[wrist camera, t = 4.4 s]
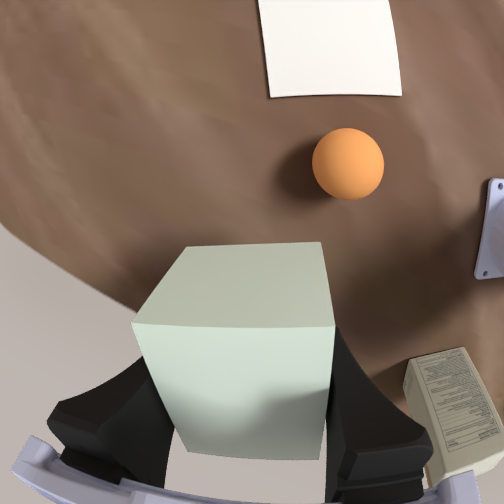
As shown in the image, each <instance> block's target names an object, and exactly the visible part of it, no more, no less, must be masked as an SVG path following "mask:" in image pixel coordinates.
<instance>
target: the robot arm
mask: <svg viewBox="0 0 504 504" xmlns="http://www.w3.org/2000/svg"><path fill="white" fill-rule="evenodd" d="M499 183H500V187H499V188H498V185H499ZM484 272H485V273H484ZM483 273H484V274H483ZM474 276H475V277H476V278H477V279H488V278H497V277H504V179H500V178H492V179H491V180H490V181H489V184H488V194H487V203H486V211H485V218H484V225H483V231H482V237H481V242H480V248H479V253H478V258H477V262H476V267H475V271H474ZM47 425H48V426H49V429H50V430H51V431H52V433H53V434H54V435H55V436H56V437H57V438H58V439H59V440H60V441H61V442H62V443H63V444H64V446H65V449H64V450H63V452H62V454H59V453H57V452H56V450H55V449H54V448H53V447H52V446H51V445H49V444H48V443H46V442H45V441H42V440H41V439H39V438H37V437H35V436H32V435H31V436H30V437H29V439H28V441H27V442H26V444H25V446H24V447H23V449H22V451H21V452H20V454H19V456H18V458H17V459H16V461H15V463H14V465H13V466H12V468H11V471H12V473H14V474H15V475H16V476H17V477H19V478H20V479H21V480H22V481H23V482H25V483H26V484H27V485H29V486H30V487H31V488H33V489H34V490H35V491H37V492H38V493H39V494H41V495H43V496H45V497H46V498H48V499H50V500H51V501H53V502H55V503H57V504H267V503H252V502H241V501H231V500H223V499H214V498H209V497H202V496H196V495H191V494H185V493H180V492H175V491H171V490H166V489H164V484H165V476H166V469H167V463H168V456H169V451H170V445H171V441H172V437H173V432H174V428H175V426H174V424H173V422H172V420H171V418H170V416H169V414H168V412H167V410H166V408H165V406H164V403H163V401H162V399H161V397H160V395H159V392H158V390H157V388H156V386H155V383H154V381H153V379H152V377H151V374H150V372H149V369H148V367H147V365H146V362H145V360H144V357H143V356H142V357H141V358H139V359H138V360H137V361H136V362H135V363H133V364H132V365H131V366H130V367H128V368H127V369H126V370H124V371H123V372H121V373H120V374H118V375H117V376H115V377H114V378H112V379H110V380H108V381H107V382H105V383H103V384H101V385H100V386H98V387H96V388H94V389H92V390H89V391H87V392H85V393H83V394H80V395H78V396H75V397H72V398H69V399H66V400H63V401H59V402H58V404H57V405H56V407H55V409H54V410H53V412H52V413H51V415H50V416H49V418H48V420H47ZM326 428H327V463H326V464H327V465H326V488H325V503H323V504H481V499H480V494H479V489H478V485H477V481H476V477H475V473H474V470H469V471H466V472H463V473H460V474H456V475H453V476H450V477H447V478H445V479H443V480H442V481H441V482H440V483H439V484H438V485H437V486H436V487H432V488H428V489H423V485H422V478H423V477H424V473H423V467H424V466H425V465H426V463H427V462H428V461H429V460H430V458H431V457H432V455H433V453H434V450H433V445H432V441H431V439H430V436H429V434H428V432H427V430H426V428H425V427H423V426H422V425H420V424H419V423H417V422H416V421H414V420H413V419H411V418H410V417H408V416H407V415H406V414H404V413H403V412H402V411H401V410H399V409H398V408H397V407H396V406H395V405H394V404H393V403H392V402H391V401H389V400H388V399H387V398H386V397H385V396H384V395H383V394H382V393H381V392H380V391H379V390H378V389H377V387H376V386H375V385H374V384H373V383H372V382H371V380H370V379H369V378H368V377H367V375H366V374H365V373H364V371H363V370H362V369H361V367H360V366H359V364H358V363H357V361H356V360H355V358H354V357H353V355H352V353H351V352H350V350H349V348H348V347H347V345H346V343H345V341H344V339H343V337H342V335H341V333H340V331H339V328H337V327H335V336H334V348H333V359H332V368H331V378H330V386H329V395H328V402H327V410H326ZM268 504H269V503H268Z"/></svg>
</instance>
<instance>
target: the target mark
mask: <svg viewBox="0 0 504 504" xmlns="http://www.w3.org/2000/svg"><path fill="white" fill-rule="evenodd" d="M258 2H259V9H260V16H261V23H262V31H263V38H264V46H265V54H266V62H267V70H268V79H269V87H270V96H271V97H283V96H299V95H323V94H369V95H393V96H402V92H401V81H400V71H399V62H398V54H397V47H396V40H395V34H394V28H393V22H392V17H391V11H390V6H389V2H388V0H258Z"/></svg>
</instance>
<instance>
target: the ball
mask: <svg viewBox="0 0 504 504" xmlns="http://www.w3.org/2000/svg"><path fill="white" fill-rule="evenodd" d="M312 167H313V172H314V175H315V178H316V180H317V182H318V183H319V185H320V186H321V187H322V188H323V189H324V190H325V191H326V192H327V193H329V194H330V195H332V196H334V197H336V198H339V199H343V200H356V199H360V198H363V197H365V196H367V195H369V194H370V193H371V192H372V191H374V190H375V188H376V187H377V186H378V184H379V183H380V181H381V178H382V175H383V171H384V160H383V156H382V153H381V151H380V149H379V147H378V145H377V144H376V142H375V141H374V140H373V139H372V138H371V137H370V136H368V135H367V134H365V133H364V132H361V131H359V130H356V129H351V128H343V129H337V130H334V131H332V132H330V133H328V134H327V135H325V136H324V137H323V138H322V139H321V140H320V141H319V142H318V144H317V146H316V148H315V150H314V153H313V158H312Z"/></svg>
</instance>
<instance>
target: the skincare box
mask: <svg viewBox="0 0 504 504" xmlns="http://www.w3.org/2000/svg"><path fill="white" fill-rule="evenodd" d="M403 390H404V393H405V396H406V400H407V403H408V407H409V410H410V414H411V417H412V419H413V420H414V421H416V422H417V423H419V424H420V425H422V426H423V427H425V428H426V430H427V432H428V434H429V436H430V439H431V441H432V445H433V450H434V453H433V455H432V457H431V458H430V460H429V461H428V462H427V463H426V465H425V466H424V468H425V473H426V477H427V482H428V486H429V488H432V487H436V486H437V485H438V484H439V483H440V482H441V481H442V480H443V479H445V478H447V477H450V476H453V475H456V474H460V473H463V472H466V471H469V470H474V473H475V476H478V475H480V474H482V473H485V472H487V471H490V470H491V469H492V468H493V467H494V466H495V465H496V464H497V463H498V462H499V461H500V460H501V459H502V458H503V456H504V427H503V424H502V422H501V420H500V417H499V415H498V413H497V411H496V409H495V406H494V404H493V402H492V400H491V398H490V396H489V394H488V392H487V390H486V388H485V386H484V384H483V382H482V380H481V378H480V376H479V374H478V372H477V370H476V368H475V366H474V364H473V363H472V361H471V359H470V357H469V355H468V353H467V352H466V350H465V348H464V347H459V348H455V349H451V350H447V351H443V352H439V353H434V354H430V355H426V356H422V357H418V358H413V359H410V360H409V362H408V366H407V370H406V374H405V378H404V383H403Z"/></svg>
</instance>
